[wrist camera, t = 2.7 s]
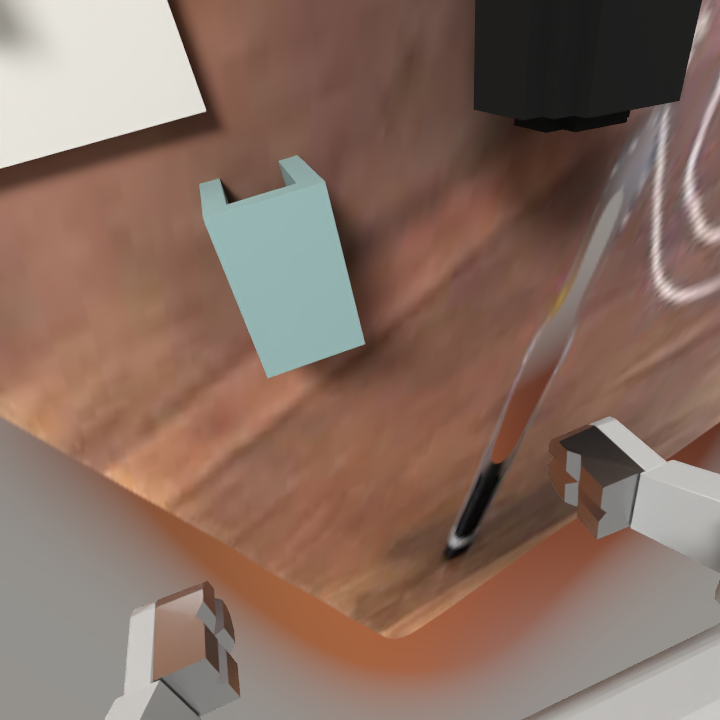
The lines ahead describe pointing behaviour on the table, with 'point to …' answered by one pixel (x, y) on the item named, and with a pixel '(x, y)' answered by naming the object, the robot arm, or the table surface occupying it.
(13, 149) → the stub plate
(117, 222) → the table surface
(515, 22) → the security camera
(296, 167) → the jaw block
